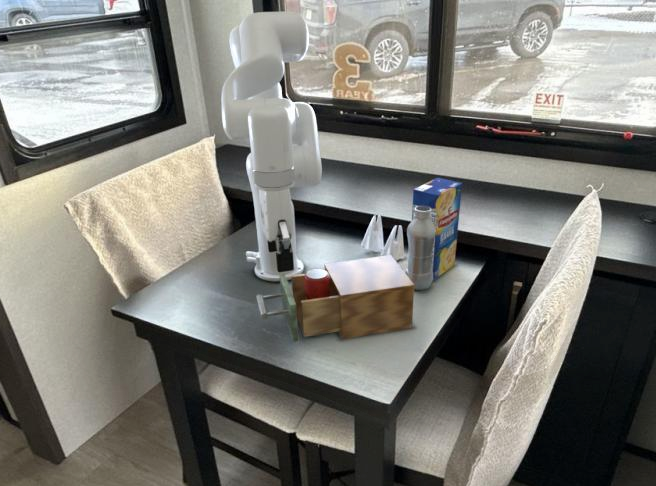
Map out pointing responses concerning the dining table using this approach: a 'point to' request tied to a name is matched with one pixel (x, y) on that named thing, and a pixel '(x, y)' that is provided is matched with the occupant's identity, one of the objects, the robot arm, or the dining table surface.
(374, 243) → the shaker set
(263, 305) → the drawer
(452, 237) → the blue tall box
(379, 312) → the cabinet
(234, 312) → the dining table surface
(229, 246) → the dining table surface
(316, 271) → the can
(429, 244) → the silver bottle
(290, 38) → the robot arm
